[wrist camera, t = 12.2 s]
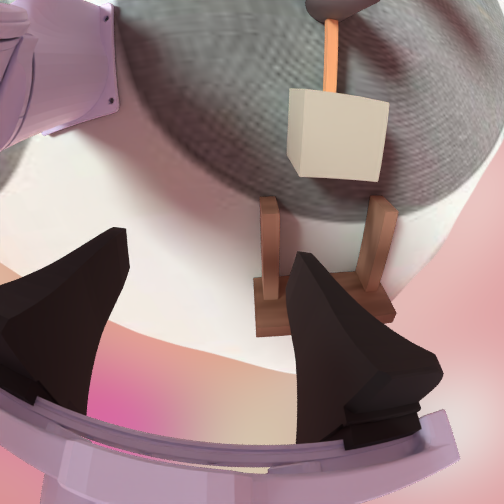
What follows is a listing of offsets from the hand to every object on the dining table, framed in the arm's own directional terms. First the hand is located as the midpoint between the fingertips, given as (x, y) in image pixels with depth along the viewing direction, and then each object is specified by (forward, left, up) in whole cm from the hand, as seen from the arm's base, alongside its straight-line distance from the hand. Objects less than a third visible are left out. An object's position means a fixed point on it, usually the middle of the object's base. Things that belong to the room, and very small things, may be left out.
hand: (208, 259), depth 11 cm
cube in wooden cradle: (+6, +8, -10) cm, 14 cm away
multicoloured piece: (-8, +8, -10) cm, 15 cm away
